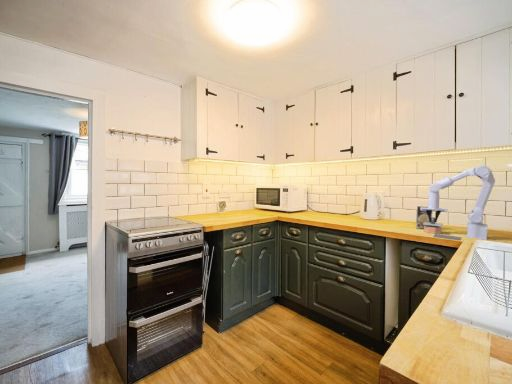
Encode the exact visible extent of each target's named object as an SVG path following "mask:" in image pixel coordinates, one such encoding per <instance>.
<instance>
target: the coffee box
mask: <svg viewBox="0 0 512 384" xmlns="http://www.w3.org/2000/svg"><path fill="white" fill-rule="evenodd" d="M420 207H421V206H417V207H416V220H415V229H418V230H424V226H425V225H423V223H424V222H429V217H428V215H427V213H426V211H425V210H420ZM423 207H424V208H428V206H423ZM431 217H433V211H431ZM430 223H431V222H430Z"/></svg>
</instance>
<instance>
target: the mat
mask: <svg viewBox="0 0 512 384" xmlns="http://www.w3.org/2000/svg"><path fill="white" fill-rule="evenodd" d="M432 238H437V239H444V240H445V239H446V240H454V241H461V240H462V237H461V236H453V235H445V234H433V236H432Z"/></svg>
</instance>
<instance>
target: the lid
mask: <svg viewBox="0 0 512 384" xmlns="http://www.w3.org/2000/svg"><path fill="white" fill-rule="evenodd" d="M423 225H432V226H440V227H443V225H444V224H443V223H440V222H439V223H438V222H435V217H433V216H432V217H431V223H430V222H424V223H423Z"/></svg>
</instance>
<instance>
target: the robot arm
mask: <svg viewBox="0 0 512 384" xmlns="http://www.w3.org/2000/svg"><path fill="white" fill-rule="evenodd" d="M470 176H471V177H474V176H476V177H478V178H479V179H481V181H482V182H483V183H482V185H481V188H480V191H479V193H478V196H477V199H476V201H475V203H474V206H473V207H472V210H471V211H470V213H468V215H467V218H468V221H467V225H466V227H467V228H466V235H465V238H470V239H480V240H488V236H489V234H488V224H486V223H484V222H483V221H484V212H485V209H486V206H487V203H488V200H489V198H490V195H491V193H492V190H493V187H494V186H495V183H496V179H495V177H494V174H493V170H492V169H491V168H490V167H488V166H487V165H483V164H482V165H478V166H476V167H472V168H469V169H466V170H465V171H463V172H461V173H458V174H456V175H454V176H452V177H448V176H446V177H442V179H440V180H438V181H437V180H436V181H435V182H433V183H432V184H430V185H429V187H428V190H429V192H428V193H429V194H428V206H427V207H428V208H424V207H425V206H420V210H425V211H426V213H427V215H428V217H429V222H431V211H432V212H435V217H434V218H435V223H438V218H439V216H440V215H441V213H448V209H447V208H440V190H445V189H446V188H449V187H452V186H454V183H455V182H457V181H459V180H462V179H464V178H466V177H470Z"/></svg>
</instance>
